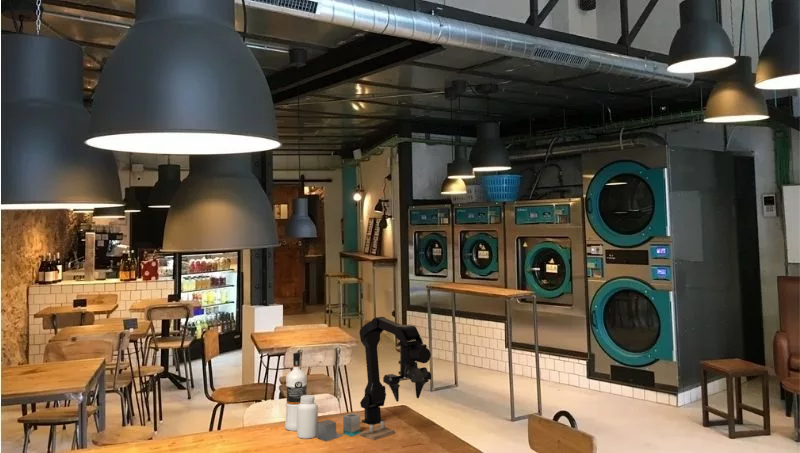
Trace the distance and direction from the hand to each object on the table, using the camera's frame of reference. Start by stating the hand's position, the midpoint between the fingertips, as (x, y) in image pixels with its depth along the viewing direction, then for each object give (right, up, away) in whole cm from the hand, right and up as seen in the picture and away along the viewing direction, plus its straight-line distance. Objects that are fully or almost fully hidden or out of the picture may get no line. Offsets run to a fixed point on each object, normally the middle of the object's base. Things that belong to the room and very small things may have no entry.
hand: (407, 399), depth 217 cm
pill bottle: (-39, -14, +1) cm, 41 cm away
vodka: (-44, -15, +10) cm, 48 cm away
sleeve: (-22, -14, +3) cm, 26 cm away
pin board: (-12, -14, +1) cm, 18 cm away
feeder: (-30, -14, -2) cm, 33 cm away
